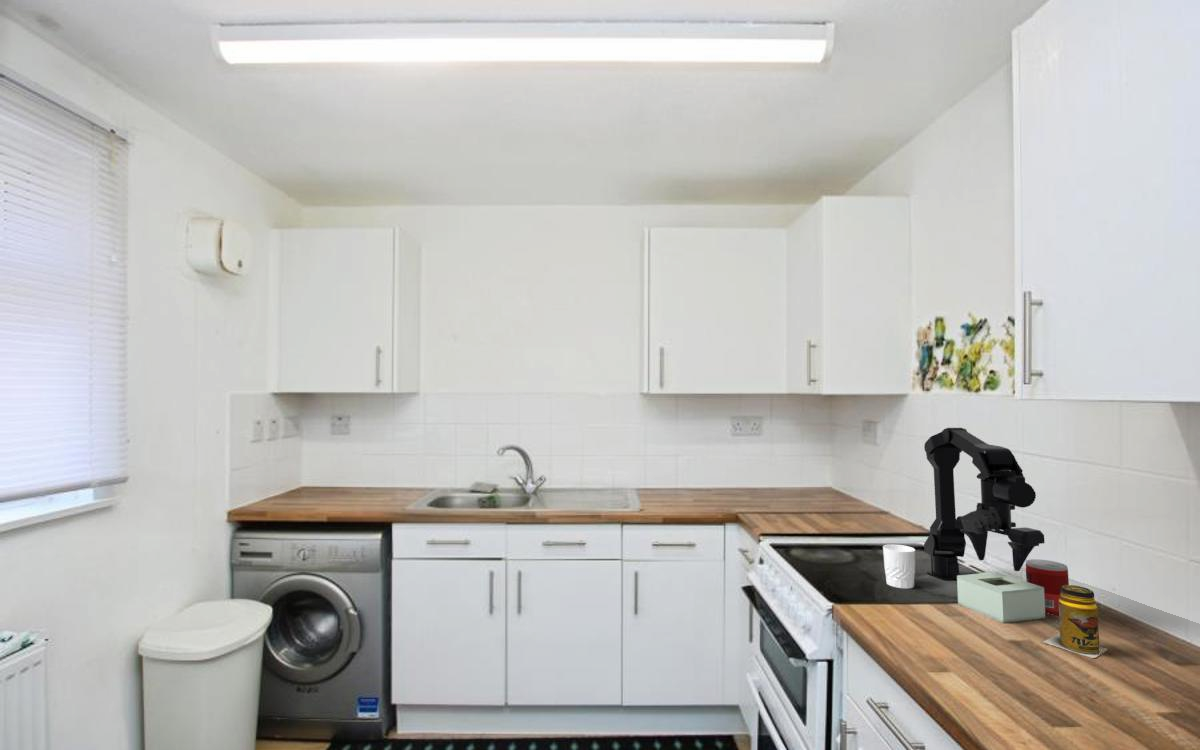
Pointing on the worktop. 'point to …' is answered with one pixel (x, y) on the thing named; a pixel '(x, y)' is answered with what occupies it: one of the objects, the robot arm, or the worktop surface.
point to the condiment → (1078, 622)
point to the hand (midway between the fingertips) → (998, 565)
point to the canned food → (1048, 580)
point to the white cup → (899, 565)
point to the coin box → (1001, 597)
